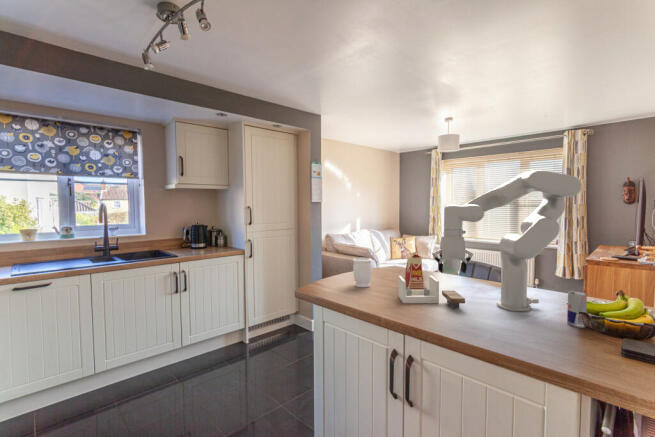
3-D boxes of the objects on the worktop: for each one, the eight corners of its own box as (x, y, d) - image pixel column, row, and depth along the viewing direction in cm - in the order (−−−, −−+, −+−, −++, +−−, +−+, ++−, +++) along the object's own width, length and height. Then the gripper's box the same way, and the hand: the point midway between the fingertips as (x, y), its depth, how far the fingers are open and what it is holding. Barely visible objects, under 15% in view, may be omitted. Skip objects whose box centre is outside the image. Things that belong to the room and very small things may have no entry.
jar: (350, 284, 175) (350, 257, 174) (367, 282, 178) (366, 256, 177) (357, 289, 165) (357, 261, 164) (375, 287, 168) (375, 259, 167)
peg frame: (431, 295, 151) (431, 275, 150) (438, 303, 140) (438, 281, 139) (398, 295, 151) (398, 275, 151) (403, 303, 140) (403, 281, 140)
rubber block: (452, 302, 140) (452, 296, 140) (459, 308, 132) (459, 301, 132) (447, 302, 140) (447, 296, 140) (453, 308, 132) (453, 301, 132)
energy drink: (567, 321, 116) (568, 289, 116) (585, 324, 113) (586, 292, 112) (566, 325, 112) (567, 293, 112) (586, 329, 109) (586, 295, 108)
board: (441, 294, 142) (441, 290, 142) (454, 294, 142) (454, 290, 142) (451, 303, 130) (451, 298, 130) (464, 303, 130) (465, 298, 130)
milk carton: (425, 290, 160) (425, 252, 159) (407, 290, 160) (407, 252, 159) (420, 286, 169) (420, 249, 168) (403, 286, 169) (403, 249, 168)
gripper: (469, 232, 138) (468, 270, 139) (430, 232, 138) (429, 270, 139) (476, 234, 130) (475, 274, 131) (435, 234, 131) (434, 273, 132)
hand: (452, 272), depth 135 cm, fingers open, 9 cm apart
